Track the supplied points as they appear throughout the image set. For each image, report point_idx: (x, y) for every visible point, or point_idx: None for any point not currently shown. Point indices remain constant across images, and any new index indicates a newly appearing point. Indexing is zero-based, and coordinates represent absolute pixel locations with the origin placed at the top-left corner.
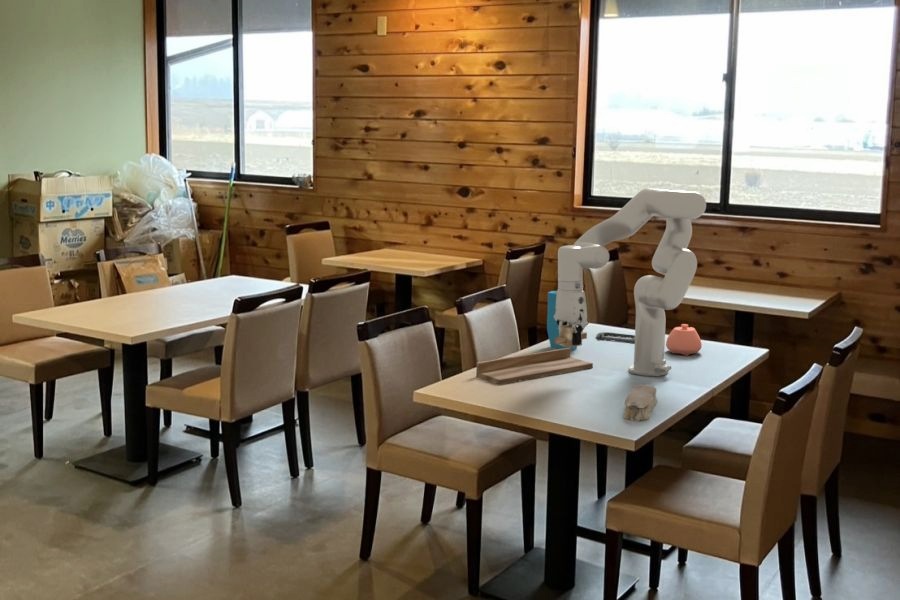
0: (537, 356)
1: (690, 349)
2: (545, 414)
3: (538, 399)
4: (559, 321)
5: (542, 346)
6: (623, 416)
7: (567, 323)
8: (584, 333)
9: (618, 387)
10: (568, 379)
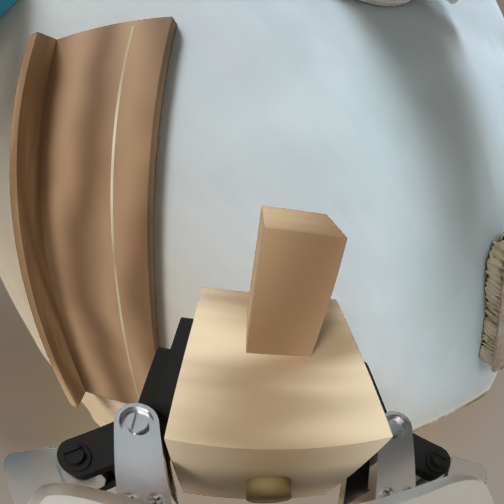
0: (25, 204)
1: None
2: None
3: None
4: (110, 486)
5: None
6: (479, 357)
7: (165, 469)
8: (336, 276)
9: (426, 188)
10: (238, 235)
